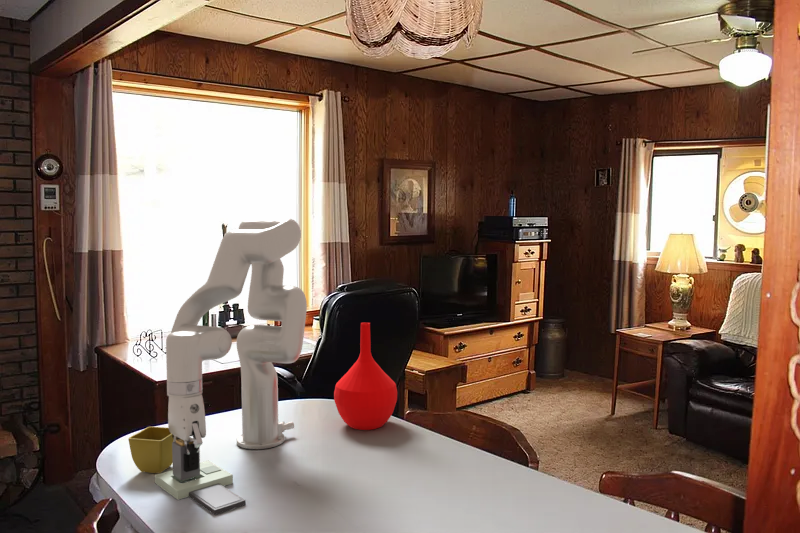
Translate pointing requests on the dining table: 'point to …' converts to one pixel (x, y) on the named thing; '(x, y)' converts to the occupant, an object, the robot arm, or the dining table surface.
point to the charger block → (182, 460)
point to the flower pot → (152, 449)
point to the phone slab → (217, 498)
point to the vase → (365, 390)
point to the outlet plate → (207, 477)
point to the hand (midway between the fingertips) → (186, 466)
